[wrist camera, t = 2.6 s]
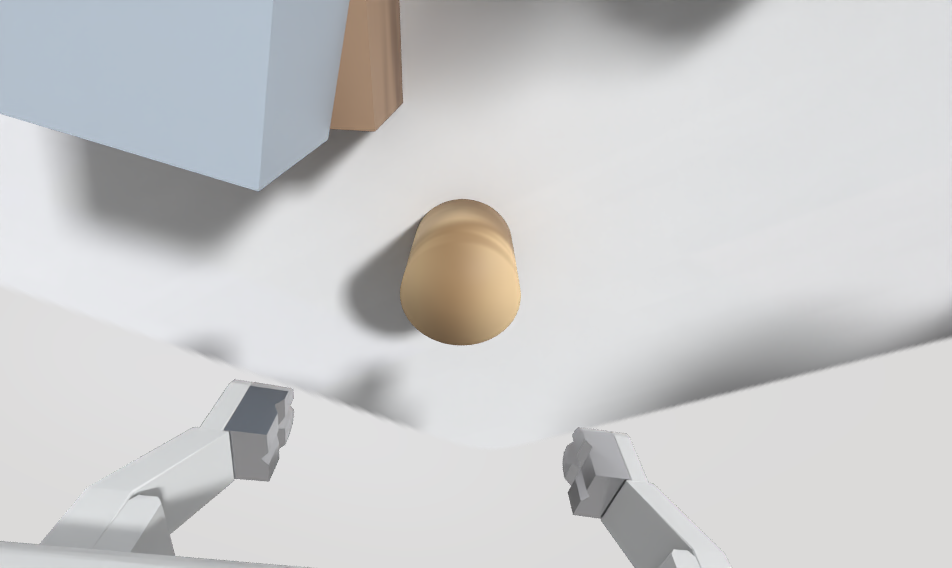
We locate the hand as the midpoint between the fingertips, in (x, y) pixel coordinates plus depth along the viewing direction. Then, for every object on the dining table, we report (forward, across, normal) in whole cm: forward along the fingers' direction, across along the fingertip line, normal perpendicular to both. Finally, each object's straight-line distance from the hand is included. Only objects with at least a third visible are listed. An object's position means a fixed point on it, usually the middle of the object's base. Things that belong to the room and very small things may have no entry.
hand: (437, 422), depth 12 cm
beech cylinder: (+11, -1, 0) cm, 11 cm away
